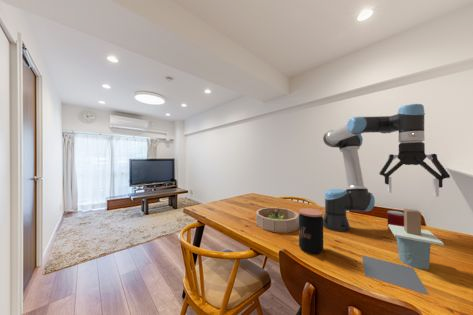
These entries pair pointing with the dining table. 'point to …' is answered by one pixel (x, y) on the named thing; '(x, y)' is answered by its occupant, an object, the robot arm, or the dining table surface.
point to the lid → (414, 229)
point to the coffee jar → (311, 231)
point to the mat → (393, 274)
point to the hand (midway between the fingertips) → (411, 193)
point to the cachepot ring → (277, 220)
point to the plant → (276, 215)
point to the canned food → (395, 218)
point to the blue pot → (414, 253)
